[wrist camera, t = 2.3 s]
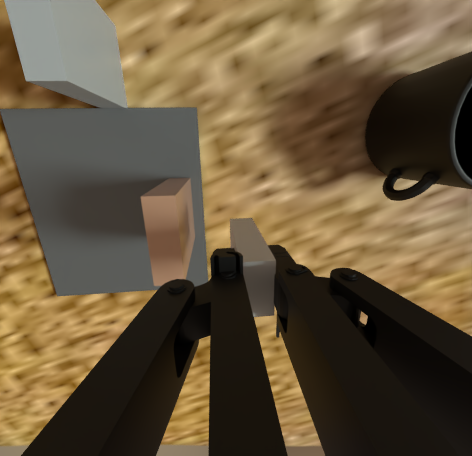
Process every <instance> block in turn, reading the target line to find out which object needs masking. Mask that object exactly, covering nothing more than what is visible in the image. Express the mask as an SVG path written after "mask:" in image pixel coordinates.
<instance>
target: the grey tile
mask: <svg viewBox="0 0 472 456" xmlns="http://www.w3.org/2000/svg"><path fill="white" fill-rule="evenodd" d="M4 1H5V5H6V8H7V12H8V16H9V20H10V23H11V27H12V31H13V35H14V38H15V42H16V46H17V50H18V53H19V57H20V61H21V64H22V68H23V72H24V76H25V79H26V81H28V82H30V83H33V84H36V85H39V86H41V87H44V88H47V89H50V90H52V91H55V92H58V93H61V94H63V95H66V96H69V97H72V98H74V99H77V100H80V101H83V102H85V103H88V104H91V105H94V106H96V107H99V108H128V106H127V100H126V93H125V87H124V80H123V73H122V67H121V60H120V53H119V47H118V40H117V34H116V27H115V25H114V23H113V22H112V21H111V20H110V18H109V17H108V16H107V15H106V13H105V12H104V11H103V10H102V8H101V7H100V6H99V5H98V3H97V2H96V1H95V0H4Z"/></svg>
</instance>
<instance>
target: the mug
mask: <svg viewBox="0 0 472 456" xmlns="http://www.w3.org/2000/svg"><path fill="white" fill-rule="evenodd" d="M365 140H366V148H367V152H368V155H369V157H370V159H371V161H372V162H373V164H374V165H375V166H376V167H377V168H378V169H379V170H380V171H381V172H383V173H384V174H386V175H388V176H387V178H386V179H385V181H384V184H383V192H384V194H385V195H386V197H388V198H389V199H391V200H396V201H401V200H406V199H410V198H413V197H415V196H417V195H419V194H421V193H423V192H424V191H426V190H427V189H428V188H429V187H430V186H432V185H433V184H441V185H448V186H454V187H461V188H467V189H472V52H469V53H467V54H464V55H461V56H459V57H456V58H453V59H451V60H448V61H446V62H443V63H440V64H438V65H435V66H432V67H430V68H427V69H424V70H422V71H419V72H417V73H414V74H411V75H409V76H406V77H404V78H402V79H400V80H399V81H397V82H396V83H394V84H393V85H392V86H391V87H390V88H388V89H387V90H386V91H385V93H384V94H383V95H382V96H381V97H380V98H379V100H378V101H377V103H376V104H375V106H374V108H373V110H372V112H371V114H370V117H369V119H368V123H367V127H366V136H365ZM399 178H403V179H409V180H416V181H419V182H418V183H416V184H415V185H413V186H412V187H410V188H407V189H404V190H394V188H393V186H394V183H395V182H396V180H397V179H399Z"/></svg>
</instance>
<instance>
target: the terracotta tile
mask: <svg viewBox="0 0 472 456" xmlns="http://www.w3.org/2000/svg"><path fill="white" fill-rule="evenodd" d="M141 203H142V210H143V216H144V223H145V229H146V236H147V242H148V249H149V256H150V262H151V269H152V275H153V282H154V286H162V285H163V284H164V283H167V282H169V281H171V280H175V279H185V280H186V276H187V271H188V267H189V262H190V258H191V253H192V249H193V244H194V239H195V229H194V217H193V205H192V192H191V180H190V178H169V179H167V180H166V181H164V182H163V183H161V184H159V185H158V186H156V187H155V188H153V189H152V190H150V191H149V192H147V193H145V194H144V195H142V196H141Z"/></svg>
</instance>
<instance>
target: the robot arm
mask: <svg viewBox="0 0 472 456" xmlns="http://www.w3.org/2000/svg"><path fill="white" fill-rule="evenodd" d="M230 239H231V248H222V249H216V250H215V251H214V252H213V255H212V256H211V258H210V260H211V279H210V280H209V281H208V282H206V283H204V284H202V285H199V286H195V287H194V284H193V282H191V281H189V280H185V279H175V280H171V281H169V282H167V283H164V284H163V285H162V286H161V287H160V288H159V289H158V290H157V292H156V293H155V294H154V295H153V296H152V298H151V299H150V300H149V301H148V303H147V304H146V305H145V306H144V307H143V309H142V310H141V311H140V312H139V313H138V315H137V316H136V317H135V318H134V319H133V321H132V322H131V323H130V324H129V326H128V327H127V328H126V329H125V330H124V332H123V333H122V334H121V335H120V336H119V338H118V339H117V340H116V341H115V342H114V344H113V345H112V346H111V347H110V349H109V350H108V351H107V352H106V353H105V355H104V356H103V357H102V358H101V359H100V361H99V362H98V363H97V364H96V365H95V367H94V368H93V369H92V370H91V371H90V373H89V374H88V375H87V376H86V378H85V379H84V380H83V381H82V382H81V384H80V385H79V386H78V387H77V388H76V390H75V391H74V392H73V393H72V394H71V396H70V397H69V398H68V399H67V401H66V402H65V403H64V404H63V405H62V407H61V408H60V409H59V410H58V411H57V413H56V414H55V415H54V416H53V417H52V419H51V420H50V421H49V422H48V424H47V425H46V426H45V427H44V428H43V430H42V431H41V432H40V433H39V434H38V436H37V437H36V438H35V439H34V440H33V442H32V443H31V444H30V445H29V446H28V448H27V449H26V450H25V451H24V453H23V454H22V455H21V456H156V454H157V451H158V449H159V446H160V444H161V441H162V438H163V436H164V433H165V431H166V428H167V425H168V423H169V420H170V418H171V415H172V412H173V410H174V407H175V405H176V402H177V399H178V397H179V394H180V391H181V389H182V386H183V384H184V381H185V378H186V376H187V373H188V371H189V368H190V365H191V363H192V360H193V358H194V355H195V352H196V350H197V347H198V344H199V339H201V338H204V337H207V336H210V335H211V338H210V400H209V456H287V452H286V448H285V443H284V439H283V435H282V431H281V427H280V423H279V419H278V415H277V411H276V407H275V402H274V398H273V394H272V390H271V386H270V382H269V378H268V374H267V370H266V366H265V361H264V357H263V353H262V349H261V345H260V341H259V337H258V333H257V329H256V325H255V320H254V317H259V316H272V315H274V305H275V307H276V310H277V327H276V337H279V333H280V332H281V335H282V338H283V340H284V343H285V346H286V349H287V351H288V354H289V357H290V360H291V362H292V365H293V368H294V371H295V373H296V376H297V379H298V382H299V384H300V387H301V390H302V393H303V395H304V398H305V401H306V404H307V406H308V409H309V412H310V415H311V417H312V420H313V423H314V426H315V428H316V431H317V434H318V437H319V439H320V442H321V445H322V448H323V450H324V453H325V456H472V336H470V335H468V334H466V333H465V332H463V331H461V330H459V329H458V328H456V327H454V326H453V325H451V324H449V323H447V322H446V321H444V320H442V319H440V318H439V317H437V316H435V315H433V314H432V313H430V312H428V311H426V310H425V309H423V308H421V307H419V306H418V305H416V304H414V303H412V302H411V301H409V300H407V299H406V298H404V297H402V296H400V295H399V294H397V293H395V292H393V291H392V290H390V289H388V288H386V287H385V286H383V285H381V284H379V283H378V282H376V281H374V280H372V279H371V278H369V277H367V276H365V275H364V274H362V273H360V272H358V271H356V270H352V269H350V268H336V269H334V270H332V271H331V273H330V278H325V277H317V276H314V275H313V273H312V272H311V271H310V270H309V269H308V268H307V267H305V266H303V265H299V264H296V263H295V261H294V260H293V259H292V257H291V256H290V255H289V253H288V252H287V251H286V249H285V248H284V247H282V246H280V245H267V244H266V242H265V240H264V238H263V237H262V235H261V233H260V231H259V230H258V228H257V226H256V224H255V223H254V221H253V219H252V218H242V219H230ZM361 311H362V312H363V313H365V314H366V315H367V316H368V319H367V324H366V325H364V324H363V323H361V322H360V321H359V320H360V314H361Z"/></svg>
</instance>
